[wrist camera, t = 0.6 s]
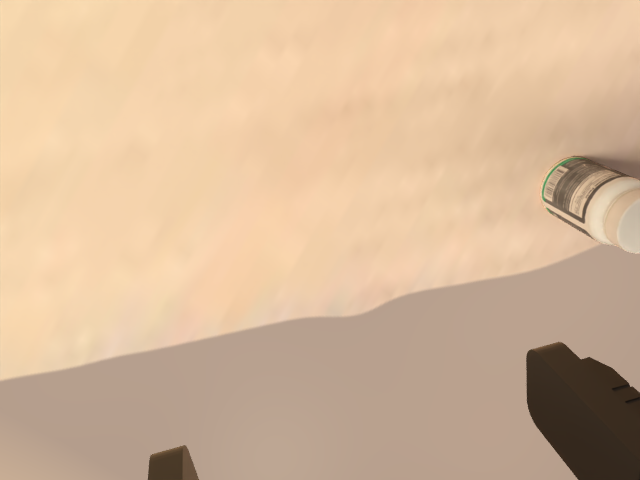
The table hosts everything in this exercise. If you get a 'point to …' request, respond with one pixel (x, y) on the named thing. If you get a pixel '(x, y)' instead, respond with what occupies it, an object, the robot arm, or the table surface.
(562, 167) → the pill bottle
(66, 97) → the table surface
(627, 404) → the robot arm
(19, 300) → the table surface
